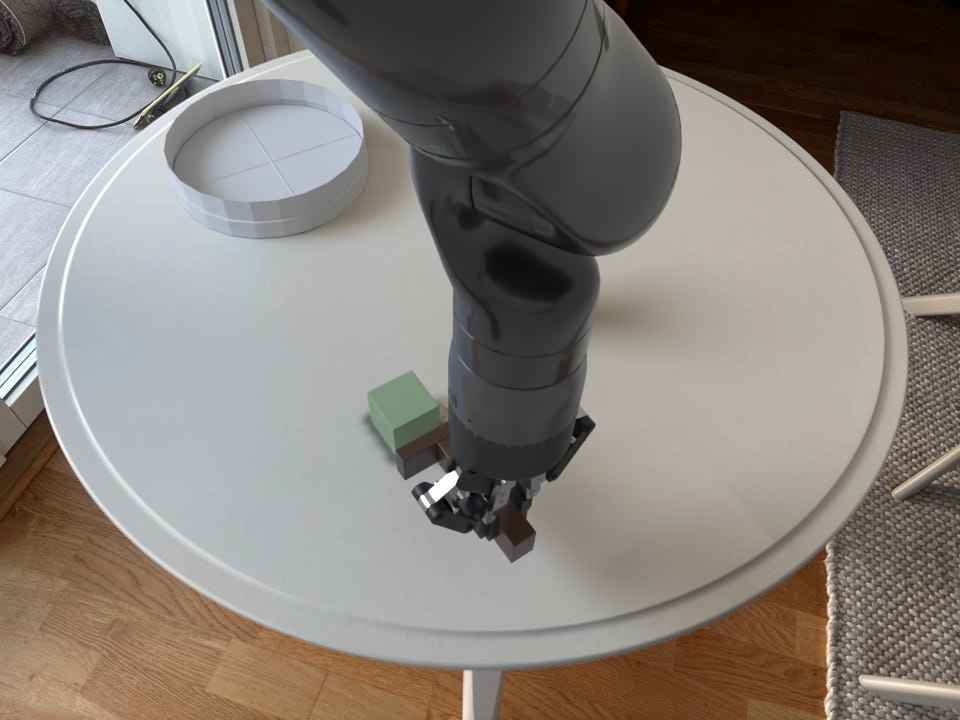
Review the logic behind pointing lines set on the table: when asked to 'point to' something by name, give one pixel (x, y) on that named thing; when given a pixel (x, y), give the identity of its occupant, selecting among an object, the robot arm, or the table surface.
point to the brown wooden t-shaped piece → (436, 448)
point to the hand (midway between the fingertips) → (499, 519)
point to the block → (402, 410)
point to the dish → (267, 158)
